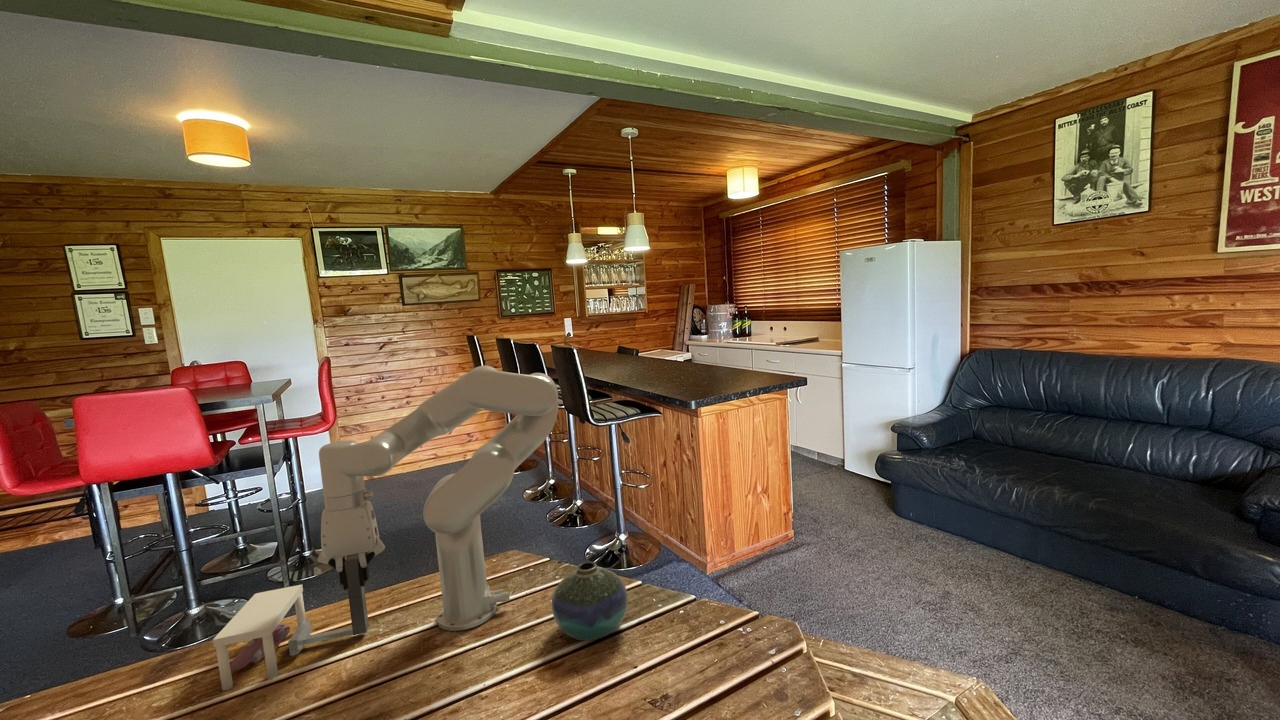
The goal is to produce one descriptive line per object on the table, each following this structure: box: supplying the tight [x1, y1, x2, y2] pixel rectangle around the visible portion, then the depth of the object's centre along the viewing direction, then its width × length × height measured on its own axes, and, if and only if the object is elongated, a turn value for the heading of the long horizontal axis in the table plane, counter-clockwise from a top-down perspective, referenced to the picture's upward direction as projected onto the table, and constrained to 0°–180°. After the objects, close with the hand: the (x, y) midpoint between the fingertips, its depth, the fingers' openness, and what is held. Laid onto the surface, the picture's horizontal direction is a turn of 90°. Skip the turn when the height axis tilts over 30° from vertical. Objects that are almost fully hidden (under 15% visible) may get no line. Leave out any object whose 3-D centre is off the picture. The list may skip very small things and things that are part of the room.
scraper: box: [287, 554, 370, 656], centre depth 108 cm, size 13×8×16 cm, turn 106°
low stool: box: [212, 584, 307, 692], centre depth 105 cm, size 9×18×10 cm, turn 16°
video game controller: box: [230, 623, 291, 672], centre depth 106 cm, size 10×5×7 cm, turn 169°
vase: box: [551, 561, 629, 641], centre depth 105 cm, size 15×15×13 cm
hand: (355, 584), depth 110 cm, fingers closed on scraper, 2 cm apart
